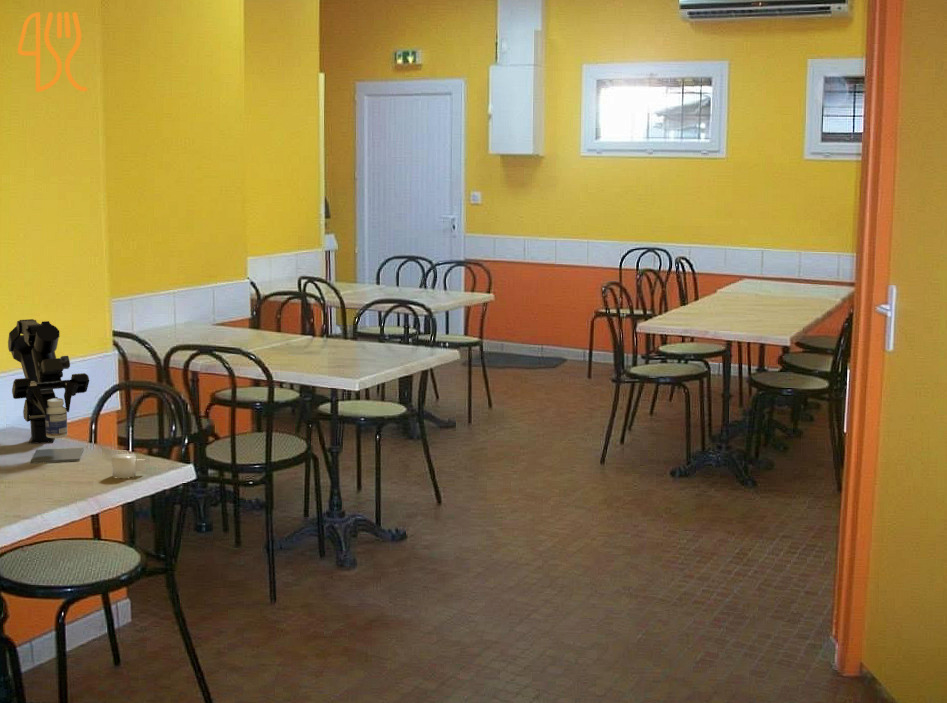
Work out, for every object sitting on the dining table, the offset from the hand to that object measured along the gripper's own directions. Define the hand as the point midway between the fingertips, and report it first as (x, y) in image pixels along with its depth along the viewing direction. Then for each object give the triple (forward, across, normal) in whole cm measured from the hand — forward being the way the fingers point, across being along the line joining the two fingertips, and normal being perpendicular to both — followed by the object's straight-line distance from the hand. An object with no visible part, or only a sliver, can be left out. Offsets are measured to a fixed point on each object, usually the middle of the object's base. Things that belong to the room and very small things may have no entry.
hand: (57, 412), depth 306 cm
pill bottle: (+4, 0, +6) cm, 7 cm away
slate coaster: (+8, 0, +9) cm, 12 cm away
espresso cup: (+27, +11, -11) cm, 31 cm away
